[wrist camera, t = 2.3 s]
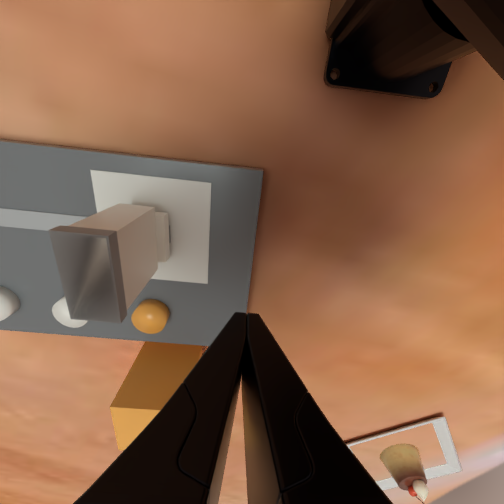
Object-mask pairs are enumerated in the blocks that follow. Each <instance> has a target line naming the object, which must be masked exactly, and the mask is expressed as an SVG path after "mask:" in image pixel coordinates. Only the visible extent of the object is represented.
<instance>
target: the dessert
mask: <svg viewBox="0 0 504 504" xmlns="http://www.w3.org/2000/svg"><path fill="white" fill-rule="evenodd" d="M429 423H433V426H434V429H435V432H436V434H437V437H438V440H439V443H440V445H441V448H442V451H443V453H444V456H445V459H446V462H447V464H444V465H440V466H436V467H432V468H428V469H424V468H423V465H422V462H421V458H420V455H419V451H418V449H417V447H415V446H413V445H411V444H397V445H393V446H390V447H388V448H386V449H385V450H384V451H382V453H381V454H380V460H381V461H382V462H383V464H384V465H385V467H386V468H387V470H388V471H389V473H390V474H391V476H392V478H388V479H384V480H380V481H376V483H377V484H378V486H379V487H380V488H381V489H382V491H383V490H387V489H391V488H396V487H400V488H401V489H403V490H408V491H409V493H410V495H411V496H417V495H419V496H420V497H421V498H422V500H423V502H424V500H425V499H426V497H427V494H428V488H427V486H426V483H427V480H428V479H432V478H436V477H440V476H445V475H449V474H453V473H457V472H461V471H462V467H461V464H460V461H459V458H458V455H457V452H456V449H455V446H454V443H453V440H452V437H451V433H450V430H449V427H448V424H447V421H446V418H445V417H434V418H430V419H427V420H423V421H420V422H417V423H413V424H410V425H406V426H403V427H399V428H396V429H393V430H389V431H386V432H382V433H379V434H375V435H372V436H369V437H365V438H362V439H358V440H355V441H351V442H348V443H345V444H346V445H347V446H348V448H349V449H350V447H349V446H352V445H356V444H359V443H363V442H366V441H370V440H373V439H377V438H380V437H383V436H387V435H390V434H394V433H397V432H401V431H404V430H408V429H411V428H415V427H418V426H422V425H425V424H429ZM350 450H351V449H350ZM351 451H352V450H351ZM352 453H353V452H352ZM419 500H420V499H419ZM420 501H421V500H420ZM421 502H422V501H421ZM423 502H422V503H423ZM423 504H424V503H423Z"/></svg>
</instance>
